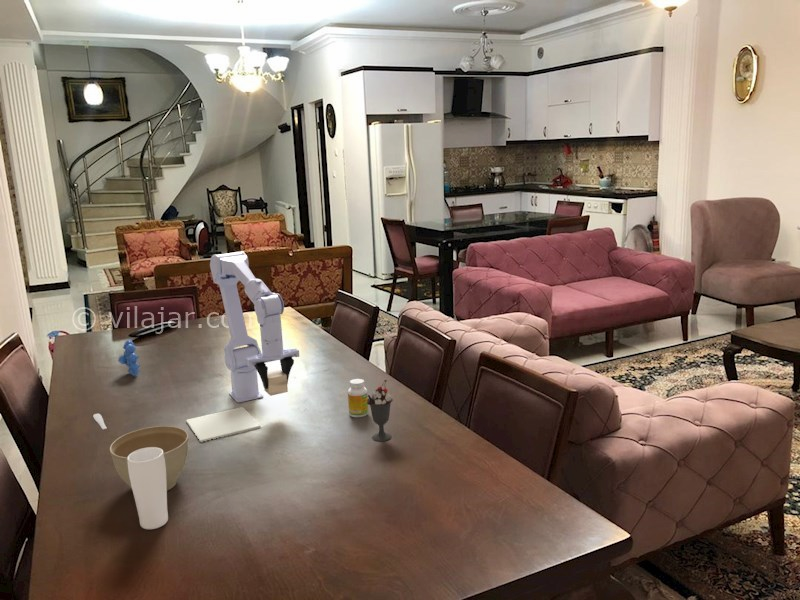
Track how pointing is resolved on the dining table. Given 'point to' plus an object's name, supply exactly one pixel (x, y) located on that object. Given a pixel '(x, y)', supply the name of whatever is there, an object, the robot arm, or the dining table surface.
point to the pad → (222, 424)
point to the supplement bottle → (357, 398)
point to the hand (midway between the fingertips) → (275, 385)
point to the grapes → (130, 358)
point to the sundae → (380, 411)
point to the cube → (276, 383)
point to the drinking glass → (149, 486)
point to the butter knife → (99, 420)
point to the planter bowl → (160, 437)
